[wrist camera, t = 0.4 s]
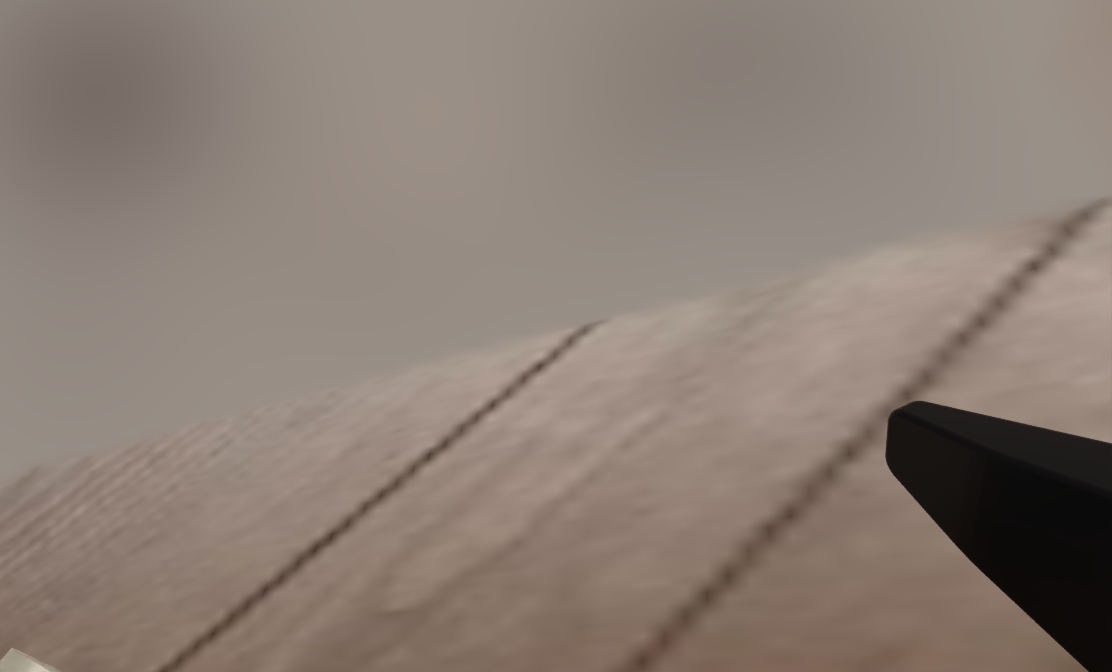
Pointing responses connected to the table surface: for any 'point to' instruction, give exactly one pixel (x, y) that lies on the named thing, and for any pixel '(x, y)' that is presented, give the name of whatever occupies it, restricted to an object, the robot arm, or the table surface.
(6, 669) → the cubby
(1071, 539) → the robot arm
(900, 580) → the table surface
